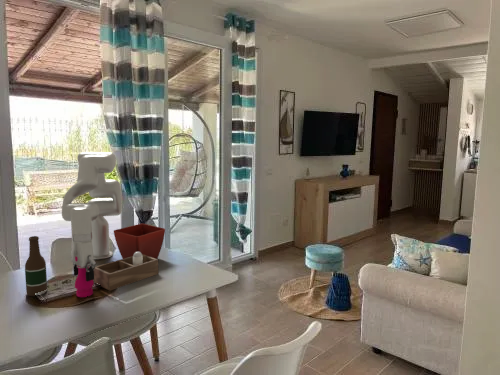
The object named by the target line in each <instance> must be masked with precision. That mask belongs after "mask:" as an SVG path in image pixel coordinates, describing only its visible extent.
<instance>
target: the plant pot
mask: <svg viewBox="0 0 500 375" xmlns="http://www.w3.org/2000/svg"><path fill="white" fill-rule="evenodd" d="M165 234H166V228H164V227H159V226H156V225H155V226H154V225H152V224H146V223H138V224H134V225H129V226H126V227H121V228H117V229H114V230H113V235H114V240H115V243H116V246H117V249H118V252H119V254H120V255H121V259H124V258H128V257H131V256H133V254H134V253H135V252H141V253H142V254H143V255H146V256H149V257H152V258H155V259H158V258H159V255H160V253H161V250H162V246H163V242H164V239H165Z"/></svg>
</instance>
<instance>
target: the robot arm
mask: <svg viewBox="0 0 500 375" xmlns="http://www.w3.org/2000/svg"><path fill="white" fill-rule="evenodd" d="M77 162H78V169H77V178H76V183H75V184H73V185H72V186H71V187H70V188H69V189H68V190H66V192H65V194H64V196H63V200H62V205H61V216H62V219H63V220H64V221H66V222H70V224H71V225H70V226H71V249H70V251H71V252H70V256H71V257H70V258H71V259H70V260H71V263H72V266H73V275H74V276H78V268H77V265H78V266H80V267H84V266H85V268H86V271H87V272H86V281H87V282H88V281H91V280H94V268H95V267H96V260H104V259H108V258H111V257H112V256H114V255H113V254H114V253H113V251H111V250H110V225H109V222H108V220H107V219H106V218H105V217H112V216H113V217H116V216H119V215H121V214H122V212H123V202H122V201H123V200H122V188H121V187H122V186H121V183H120V182H119V181H118V180H117V179H106V174H110V173H112V172H113V171H114V170H115V168H116V165H117V157H116V155H115V153H114V152H111V151H110V152H108V151H107V152H105V151H101V152H99V151H83V152H80V153H79V154H78V155H77ZM87 193H88V195H89V197H91V198H92V199H90V200H89V201H88V202H84V203H83V202H79V203H78V202H77V203H75V202H73V201H74V200H75V199H77V198H78V197H80V196H82V195H85V194H87ZM72 202H73V203H72ZM75 257H77V258H78V260H77V262H76V261H75ZM87 263H89V264H87ZM88 266H89V268H88Z"/></svg>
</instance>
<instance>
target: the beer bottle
mask: <svg viewBox="0 0 500 375" xmlns="http://www.w3.org/2000/svg"><path fill="white" fill-rule="evenodd" d="M39 239H40V238H39V236H37V235H34V236H30V237H28V241H29V253H28V258H27V259H26V261H25V265H24V275H25V276H24V278H25V288H26V289H25V290H26V291H25V292H26V295H27V296H29V297H32V298H33V297H36V296H35V293H38V292H41V291H44V290H46V289H47V290H48V278H47V274H48V273H47V264H46V259H45V258H44V256H43V255H42V254H41V250H40V244H39Z"/></svg>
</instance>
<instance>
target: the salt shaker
mask: <svg viewBox="0 0 500 375" xmlns="http://www.w3.org/2000/svg"><path fill="white" fill-rule="evenodd" d="M142 263H143V255H142V253H141V252H135V253H134V254H133V265H134V266H136V265H139V264H142Z"/></svg>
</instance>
